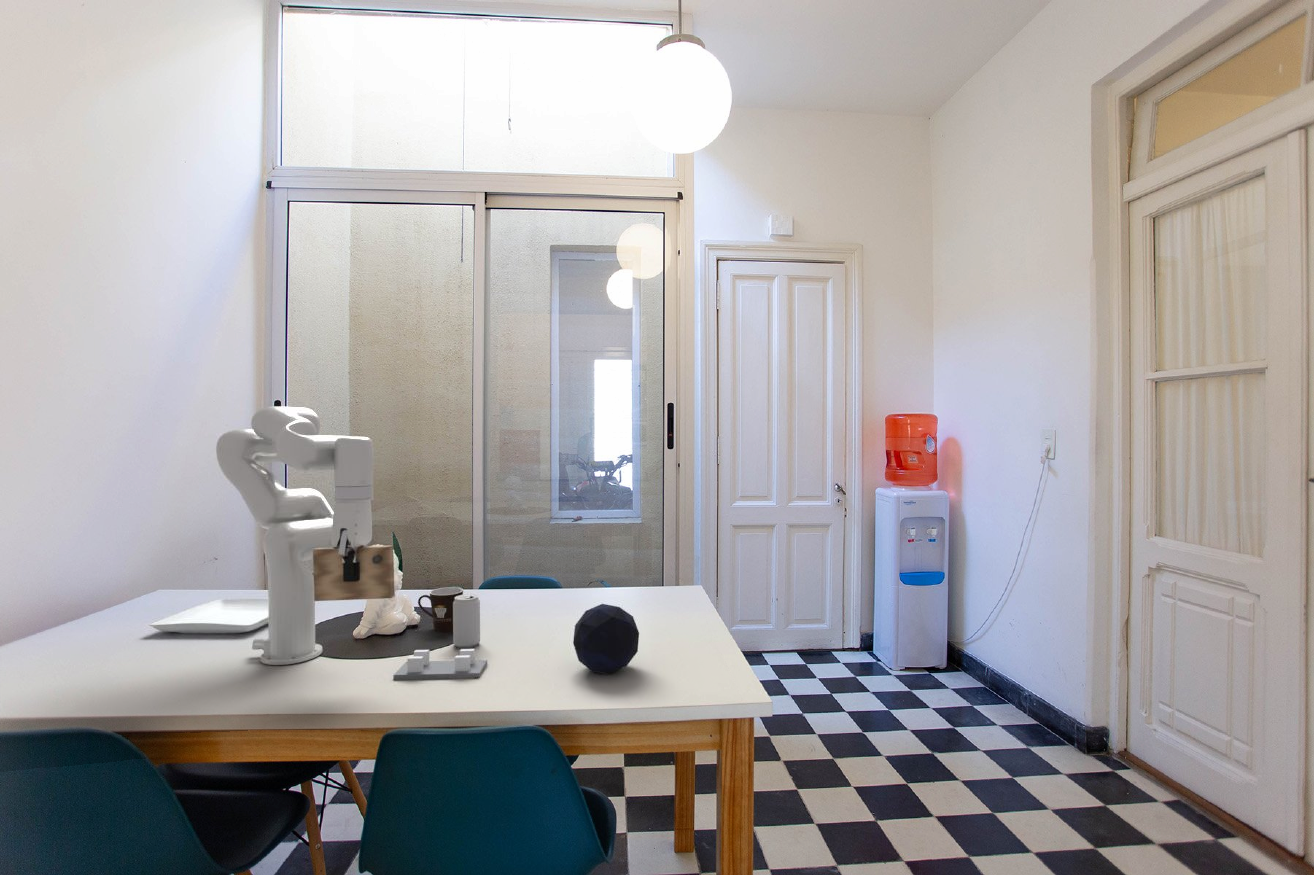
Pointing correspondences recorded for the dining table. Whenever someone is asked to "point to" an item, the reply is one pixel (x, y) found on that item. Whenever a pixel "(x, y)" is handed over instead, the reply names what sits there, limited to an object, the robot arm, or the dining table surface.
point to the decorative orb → (606, 639)
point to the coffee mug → (442, 607)
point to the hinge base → (441, 666)
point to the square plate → (218, 617)
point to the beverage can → (466, 621)
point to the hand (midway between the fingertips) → (354, 579)
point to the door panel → (372, 574)
